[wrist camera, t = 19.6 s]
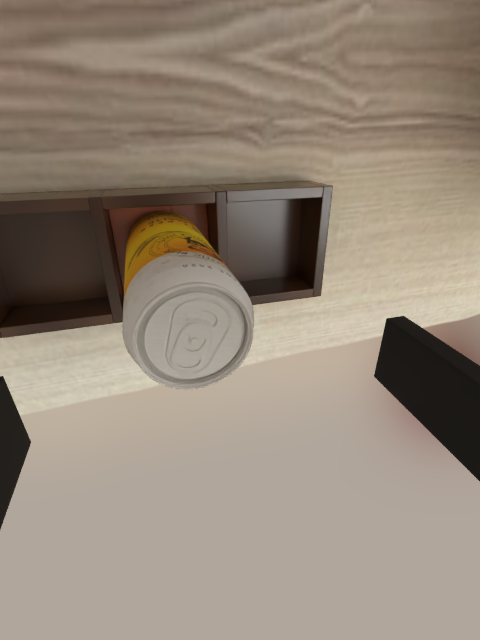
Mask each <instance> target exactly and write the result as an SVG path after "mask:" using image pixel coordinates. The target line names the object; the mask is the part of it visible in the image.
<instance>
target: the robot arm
mask: <svg viewBox="0 0 480 640" xmlns="http://www.w3.org/2000/svg"><path fill="white" fill-rule="evenodd" d="M374 376H375V378H377V380H378V381H379V382H380V383H381V384H383V386H384V387H385V388H386V389H387V390H388V391H389V392H390V393H391V394H392V395H393V396H394V397H395V398H397V399H398V400H399V402H400V403H401V404H402V405H404V406H405V407H406V409H408V411H410V412H411V413H412V414H413V415H414V416H415V417H416V418H417V419H418V420H419V421H420V422H421V423H422V424H423V425H424V426H425V427H426V428H427V429H428V430H429V431H430V432H431V433H432V434H433V435H434V436H435V437H436V438H437V439H438V440H439V441H440V442H441V443H442V444H443V445H444V446H445V447H446V448H447V449H448V450H449V451H450V452H451V453H452V454H453V455H454V456H455V457H456V458H457V459H458V460H459V461H460V462H461V463H462V464H463V465H464V466H465V467H466V468H467V469H468V470H469V471H470V472H471V473H472V474H473V475H474V476H475V477H476V478H477V479H478V480H479V481H480V366H479V365H478V364H476V363H474V362H473V361H471V360H470V359H468V358H467V357H465V356H464V355H462V354H461V353H459V352H458V351H456V350H455V349H453V348H452V347H450V346H449V345H447V344H446V343H444V342H442V341H441V340H440V339H438V338H436V337H435V336H433V335H432V334H430V333H429V332H427V331H426V330H424V329H423V328H421V327H420V326H418V325H417V324H415V323H414V322H412V321H411V320H409V319H408V318H406V317H404V316H401V317H394V318H387V320H386V324H385V329H384V333H383V338H382V342H381V347H380V352H379V357H378V361H377V365H376V370H375V374H374ZM30 443H31V441H30V439H29V436H28V434H27V432H26V429H25V427H24V425H23V422H22V420H21V418H20V415H19V413H18V410H17V408H16V406H15V403H14V401H13V399H12V396H11V394H10V392H9V389H8V387H7V384H6V382H5V380H4V377H3V376H1V377H0V529H1V526H2V523H3V520H4V517H5V515H6V512H7V509H8V506H9V503H10V500H11V498H12V495H13V492H14V489H15V486H16V483H17V480H18V478H19V475H20V472H21V469H22V466H23V464H24V461H25V458H26V455H27V452H28V449H29V447H30Z"/></svg>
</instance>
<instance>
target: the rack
mask: <svg viewBox="0 0 480 640" xmlns="http://www.w3.org/2000/svg"><path fill="white" fill-rule="evenodd" d="M332 189H333V186H331V185H326V184H321V183H317V182H312V181H295V182H271V183H247V184H224V185H200V186H176V187H153V188H129V189H105V190H82V191H58V192H34V193H11V194H0V338H2V337H3V338H5V337H13V336H20V335H28V334H36V333H43V332H51V331H58V330H66V329H74V328H81V327H89V326H96V325H104V324H111V323H119V322H123V303H124V280H125V257H126V242H127V238H128V235H129V232H130V231H131V229H132V227H133V226H134V225H135V224H136V223H137V222H138V221H139V220H140V219H141V218H143V217H144V216H146V215H148V214H151V213H154V212H160V211H169V212H174V213H178V214H180V215H183V216H184V217H186V218H188V219H189V220H190V221H191V222H192V223H194V225H195V226H196V227H197V228H198V230H199V231H200V232H201V233H202V235H203V236H204V237H205V239H206V240H207V241H208V243H209V244H210V245H211V246H212V248H213V249H214V250H215V252H216V253H217V254H218V256H219V257H220V258H221V259H222V261H223V262H224V263H225V265H226V266H227V267H228V269H229V270H230V271H231V272H232V274H233V275H234V276H235V278H236V279H237V280H238V282H239V283H240V284H241V285H242V287H243V288H244V290H245V291H246V293H247V294H248V296H249V298H250V300H251V303H252V305H256V304H263V303H271V302H279V301H286V300H294V299H301V298H309V297H316V296H321V288H322V279H323V270H324V261H325V252H326V243H327V234H328V225H329V216H330V207H331V198H332Z"/></svg>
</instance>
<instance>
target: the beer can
mask: <svg viewBox="0 0 480 640" xmlns="http://www.w3.org/2000/svg"><path fill="white" fill-rule="evenodd" d="M253 326H254V312H253V307H252V303H251V300H250V298H249V296H248V294H247V293H246V291H245V290H244V288H243V287H242V285H241V284H240V283H239V282H238V280H237V279H236V278H235V276H234V275H233V274H232V272H231V271H230V270H229V269H228V267H227V266H226V265H225V263H224V262H223V261H222V259H221V258H220V257H219V256H218V254H217V253H216V252H215V250H214V249H213V248H212V246H211V245H210V244H209V243H208V241H207V240H206V239H205V237H204V236H203V235H202V233H201V232H200V231H199V230H198V228H197V227H196V226H195V225H194V223H192V222H191V221H190V220H189V219H188V218H186V217H184V216H183V215H180V214H178V213H174V212H169V211H160V212H154V213H151V214H148V215H146V216H144V217H143V218H141V219H140V220H139V221H138V222H137V223H136V224H135V225H134V226H133V227H132V229H131V231H130V232H129V235H128V238H127V242H126V257H125V280H124V303H123V338H124V342H125V346H126V348H127V350H128V352H129V354H130V355H131V357H132V358H133V360H134V361H135V362H136V363H137V364H138V365H139V366H140V368H141V369H142V370H143V371H144V372H145V373H146V374H147V375H148V376H149V377H150V378H152V379H153V380H154V381H156V382H158V383H160V384H162V385H165V386H168V387H171V388H176V389H198V388H203V387H207V386H210V385H212V384H215V383H217V382H219V381H221V380H223V379H224V378H226V377H228V376H229V375H230V374H232V373H233V372H234V371H235V370H236V369H237V368H238V367H239V366H240V365H241V363H242V362H243V361H244V359H245V358H246V356H247V354H248V352H249V350H250V347H251V344H252V339H253Z"/></svg>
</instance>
